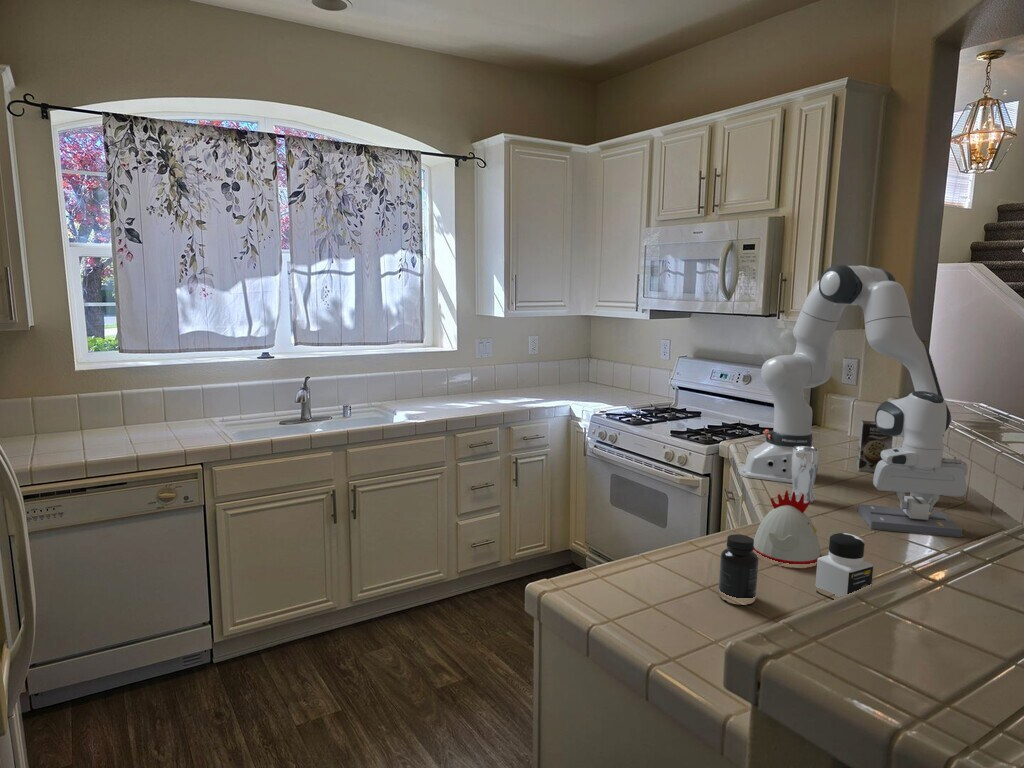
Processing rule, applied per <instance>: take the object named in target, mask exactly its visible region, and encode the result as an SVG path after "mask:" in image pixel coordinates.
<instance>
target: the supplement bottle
mask: <svg viewBox="0 0 1024 768" xmlns="http://www.w3.org/2000/svg"><path fill="white" fill-rule="evenodd" d="M753 550H754V539H753V537H751V536H748V535H745V534H738V533H737V534H736V533H735V534H730V535H728V536H727V538H726V548H725V549H723V550H722V551H721V553H720V561H719V562H720V563H719V578H718V579H719V580H718V590H719V589H720V591H721V592H723V593H725V594H726V595H729V596H732V597H736V598H753V597H755V596H756V597H757V586H758V576H759V575H758V572H759V558H758V557H757V555H756V554H755V553H754V552H753Z"/></svg>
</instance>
